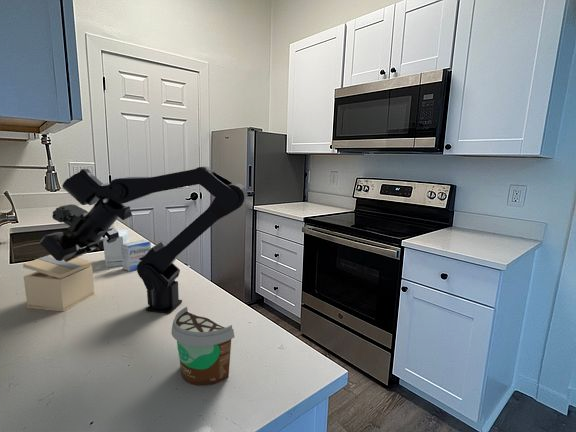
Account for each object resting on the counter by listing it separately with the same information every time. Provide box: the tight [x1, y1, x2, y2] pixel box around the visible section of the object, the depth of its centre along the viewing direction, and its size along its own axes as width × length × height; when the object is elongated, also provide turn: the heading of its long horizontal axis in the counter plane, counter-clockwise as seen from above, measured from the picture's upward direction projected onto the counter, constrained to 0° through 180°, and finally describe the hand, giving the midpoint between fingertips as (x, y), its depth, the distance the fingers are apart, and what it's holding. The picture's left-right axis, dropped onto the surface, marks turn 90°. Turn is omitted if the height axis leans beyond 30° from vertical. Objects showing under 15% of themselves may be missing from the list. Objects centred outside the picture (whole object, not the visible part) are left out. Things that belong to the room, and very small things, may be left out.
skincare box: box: [102, 229, 131, 268], centre depth 113 cm, size 10×6×10 cm, turn 15°
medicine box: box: [121, 239, 152, 272], centre depth 108 cm, size 8×4×9 cm, turn 143°
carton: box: [23, 265, 95, 312], centre depth 82 cm, size 10×10×8 cm
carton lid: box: [22, 254, 93, 278], centre depth 81 cm, size 10×10×1 cm
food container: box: [170, 306, 235, 387], centre depth 55 cm, size 12×6×10 cm, turn 56°
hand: (65, 260), depth 81 cm, fingers closed
